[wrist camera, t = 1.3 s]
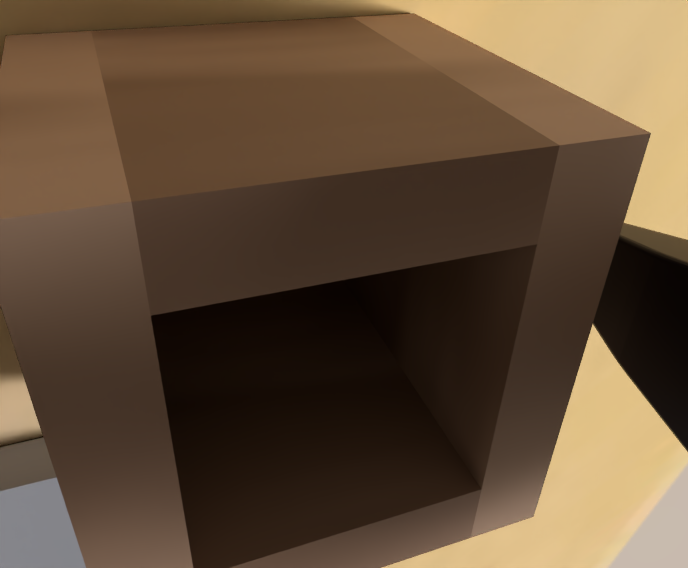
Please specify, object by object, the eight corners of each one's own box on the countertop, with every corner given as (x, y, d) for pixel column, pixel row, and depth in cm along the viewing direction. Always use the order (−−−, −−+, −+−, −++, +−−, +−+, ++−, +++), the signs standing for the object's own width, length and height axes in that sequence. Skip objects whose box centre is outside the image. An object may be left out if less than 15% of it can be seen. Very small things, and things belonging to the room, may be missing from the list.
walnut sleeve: (388, 313, 13) (533, 516, 9) (90, 373, 11) (114, 655, 7) (414, 13, 10) (650, 133, 6) (6, 35, 8) (-28, 222, 4)
